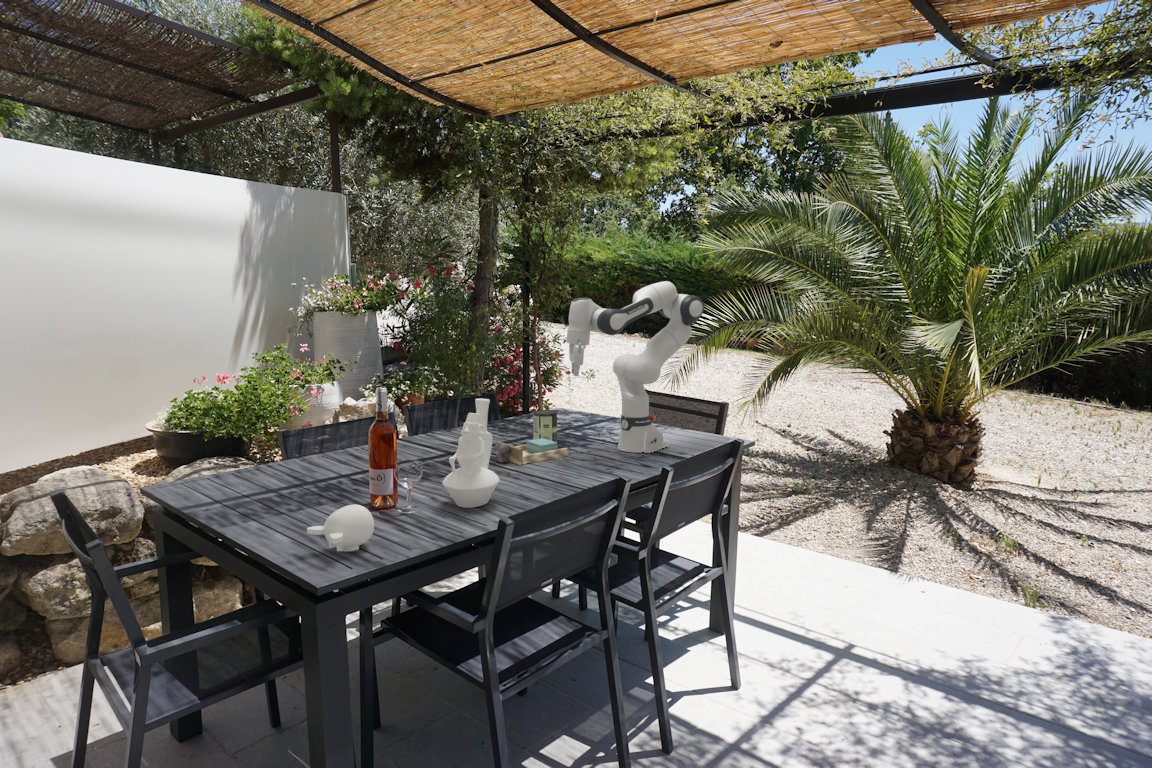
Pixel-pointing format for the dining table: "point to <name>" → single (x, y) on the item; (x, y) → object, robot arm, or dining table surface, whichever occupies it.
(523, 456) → the bay
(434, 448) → the dining table surface
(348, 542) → the piggy bank
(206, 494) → the dining table surface
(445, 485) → the white sculpted vase
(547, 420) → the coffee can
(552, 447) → the teal rectangular box
